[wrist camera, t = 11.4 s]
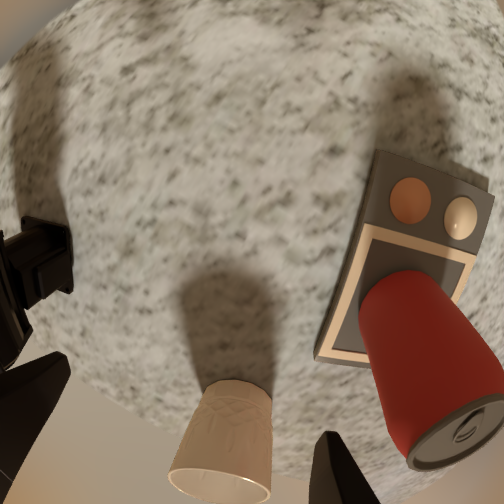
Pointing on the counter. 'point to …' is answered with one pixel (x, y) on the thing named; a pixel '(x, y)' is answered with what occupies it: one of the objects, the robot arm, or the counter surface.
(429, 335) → the beer can
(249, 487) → the white cup
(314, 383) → the counter surface
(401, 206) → the slate card
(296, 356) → the counter surface
